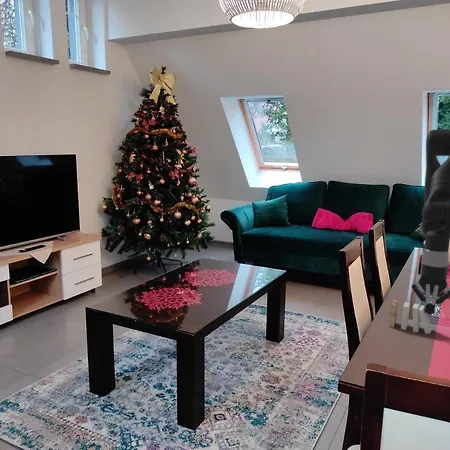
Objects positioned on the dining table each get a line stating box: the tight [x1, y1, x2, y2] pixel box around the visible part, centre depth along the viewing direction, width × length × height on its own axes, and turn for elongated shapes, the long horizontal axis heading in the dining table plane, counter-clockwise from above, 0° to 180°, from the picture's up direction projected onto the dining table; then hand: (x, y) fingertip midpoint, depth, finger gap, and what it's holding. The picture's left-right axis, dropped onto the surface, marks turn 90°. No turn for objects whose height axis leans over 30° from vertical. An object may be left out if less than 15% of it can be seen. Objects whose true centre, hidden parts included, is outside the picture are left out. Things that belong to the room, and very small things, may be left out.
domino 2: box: [400, 301, 411, 331], centre depth 152 cm, size 5×2×8 cm, turn 152°
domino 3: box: [412, 303, 421, 333], centre depth 151 cm, size 5×2×8 cm, turn 152°
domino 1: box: [388, 299, 399, 328], centre depth 154 cm, size 5×2×8 cm, turn 152°
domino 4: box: [418, 304, 433, 335], centre depth 149 cm, size 5×2×8 cm, turn 152°
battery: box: [417, 253, 423, 275], centre depth 220 cm, size 4×7×10 cm, turn 146°
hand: (429, 314), depth 149 cm, fingers closed
